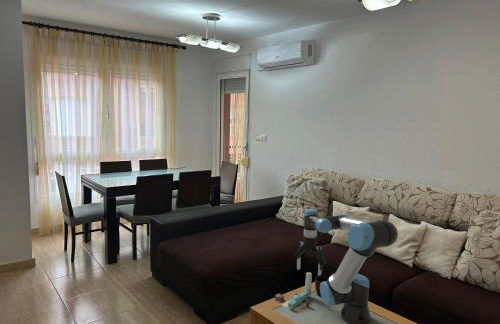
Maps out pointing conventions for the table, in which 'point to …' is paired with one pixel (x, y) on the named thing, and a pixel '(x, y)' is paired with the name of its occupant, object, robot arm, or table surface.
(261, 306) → the table surface
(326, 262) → the robot arm
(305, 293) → the lever
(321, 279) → the mug
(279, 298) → the walnut block
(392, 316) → the table surface
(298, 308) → the press base
